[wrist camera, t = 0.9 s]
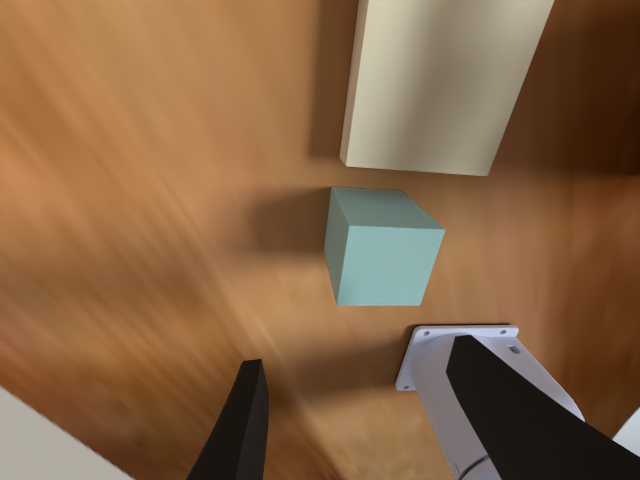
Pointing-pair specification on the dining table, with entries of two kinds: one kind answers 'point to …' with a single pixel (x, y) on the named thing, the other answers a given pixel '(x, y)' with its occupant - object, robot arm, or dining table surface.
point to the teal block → (379, 247)
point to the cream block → (436, 81)
